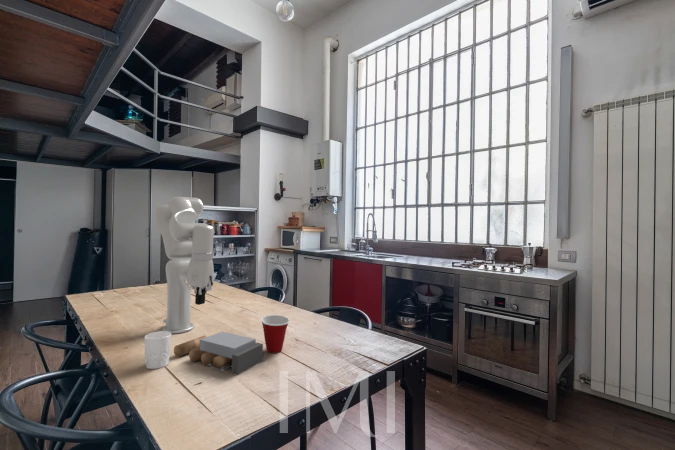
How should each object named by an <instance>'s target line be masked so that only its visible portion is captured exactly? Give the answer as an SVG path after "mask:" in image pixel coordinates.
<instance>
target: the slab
mask: <svg viewBox="0 0 675 450" xmlns="http://www.w3.org/2000/svg"><path fill="white" fill-rule="evenodd" d="M256 340H257V339H256V338H252V337H248V336H244V335H239V334H236V333H230V332H227V331H220V332H217V333H215V334H211V335H209V336H207V337H206V338H203V339H200V350H202V351H206V352H209V353H213V354H216V355H220V356H224V357H227V358H231V359H232V354H234V353H237V352H239V351H241V350H243V349H245V348H247V347H249V346H252V345H254V344H256V343H257V342H256Z"/></svg>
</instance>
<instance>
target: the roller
mask: <svg viewBox="0 0 675 450" xmlns="http://www.w3.org/2000/svg"><path fill="white" fill-rule="evenodd" d="M230 362H232V359H231V358H227V357H224V356H220V355H219V356H217V357H215V358H214V359H213V365H214V367H215V368H220V367H222V366H224V365H226V364H228V363H230ZM215 368H214V369H215Z"/></svg>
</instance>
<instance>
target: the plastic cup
mask: <svg viewBox="0 0 675 450" xmlns="http://www.w3.org/2000/svg"><path fill="white" fill-rule="evenodd" d="M290 321H291V320H290V318H289V317H288V316H284V315H279V314H273V315H272V314H270V315H265V316H263V317H261V319H260V322H261V324H262V329H263V337H264V342H265V349H266V351H267V353H269V354H275V353H276V354H277V353H280V352H282V350H283V348H284V347H283V346H284V342H285V337H286V333H287V327H288V324H289V323H290Z"/></svg>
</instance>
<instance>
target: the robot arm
mask: <svg viewBox="0 0 675 450" xmlns="http://www.w3.org/2000/svg"><path fill="white" fill-rule="evenodd" d="M203 212H204V203H203V201H202V200H201V199H200V198H198V197H190V196H189V197H188V196H174V197H172V198H171V199H170V200H169V201H168V204H161V205H158V206H156V208H155V209H154V223H155V224H156V227H157V229H158V231H159V232H160V234H161V237H162V241H163V246H164V252H165V255H166V256H167V258H168V259H169V260H168V262H166V265H165V275H166V285H167V286H166V288H167V293H166V295H167V296H166V317H165V319H163V320H162V322H163V323H164V324H165V326H163V327H162V331H168V332H171V335H172V334H182V333H186V332H190V331H192V330H193V329H194V328H195V325H194V324H193V323H192V322H191V314H192V313H191V308H192V306H191V304H192V289H193V290H194V294H195V300H194V305H198V306H199V305H203V304H205V303H206V294H207V292H210V291H212V287H213V286H214V281H215V271H214V269H215V267H214V261H213V255H214V254H213V253H214V252H213V251H214V237H215V236H214V233H215V232H214V231H215V230H214V229H215V228H214V227H213V226H212V225H209V224H207V223H202V222H201V223H200V222H198V223H197V222H195V221H196V220H197V219H198V218H199V217H201V216H202V214H203ZM191 288H192V289H191Z"/></svg>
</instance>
